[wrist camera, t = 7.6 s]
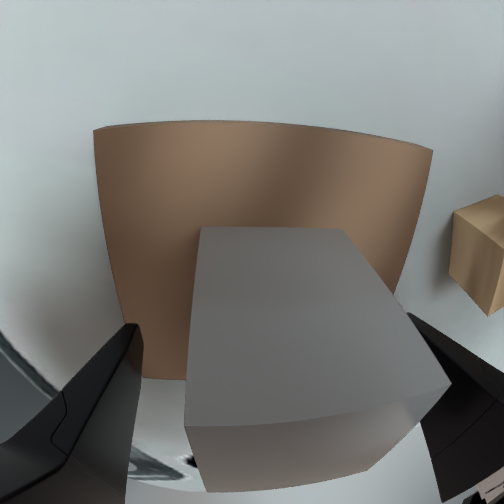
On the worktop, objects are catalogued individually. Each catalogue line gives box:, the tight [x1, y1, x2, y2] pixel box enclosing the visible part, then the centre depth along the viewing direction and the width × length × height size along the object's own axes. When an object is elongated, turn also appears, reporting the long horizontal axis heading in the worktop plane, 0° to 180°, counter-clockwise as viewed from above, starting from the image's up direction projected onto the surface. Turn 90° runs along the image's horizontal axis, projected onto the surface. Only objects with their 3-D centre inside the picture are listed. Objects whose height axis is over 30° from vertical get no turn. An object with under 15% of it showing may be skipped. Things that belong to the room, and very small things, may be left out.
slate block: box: [184, 227, 452, 492], centre depth 8 cm, size 5×5×7 cm
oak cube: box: [448, 194, 504, 317], centre depth 11 cm, size 4×4×4 cm
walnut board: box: [93, 120, 433, 380], centre depth 12 cm, size 12×12×1 cm
